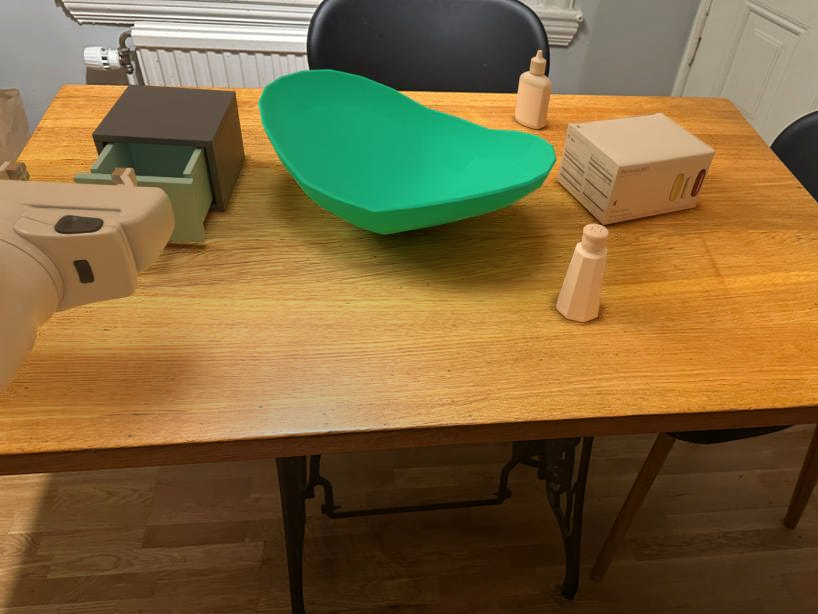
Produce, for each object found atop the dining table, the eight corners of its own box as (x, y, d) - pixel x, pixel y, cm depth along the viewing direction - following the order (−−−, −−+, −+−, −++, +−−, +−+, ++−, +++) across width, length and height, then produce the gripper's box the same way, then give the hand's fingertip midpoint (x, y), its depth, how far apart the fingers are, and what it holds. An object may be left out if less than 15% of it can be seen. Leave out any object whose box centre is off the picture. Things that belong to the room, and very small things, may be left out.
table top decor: (217, 208, 91) (198, 110, 82) (348, 135, 110) (345, 48, 100) (478, 324, 79) (490, 223, 70) (576, 219, 97) (596, 129, 88)
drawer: (194, 266, 80) (180, 206, 75) (78, 262, 79) (56, 200, 73) (226, 185, 94) (216, 129, 88) (128, 180, 92) (112, 123, 87)
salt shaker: (592, 293, 85) (612, 215, 78) (605, 322, 81) (628, 243, 74) (549, 294, 84) (566, 216, 77) (561, 323, 80) (579, 244, 73)
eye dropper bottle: (523, 131, 116) (533, 57, 108) (512, 116, 120) (521, 44, 112) (547, 129, 118) (559, 57, 109) (535, 115, 121) (546, 44, 113)
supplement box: (603, 227, 97) (619, 166, 90) (555, 181, 105) (566, 122, 98) (697, 208, 103) (718, 149, 97) (645, 166, 111) (661, 109, 105)
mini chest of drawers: (224, 211, 91) (211, 141, 84) (113, 206, 89) (91, 134, 83) (245, 157, 101) (235, 91, 95) (146, 152, 100) (129, 84, 93)
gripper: (-116, 287, 55) (-35, 196, 65) (154, 296, 57) (193, 207, 67) (-159, 218, 51) (-64, 132, 61) (136, 231, 53) (180, 146, 63)
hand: (73, 171), depth 64 cm, fingers open, 8 cm apart
